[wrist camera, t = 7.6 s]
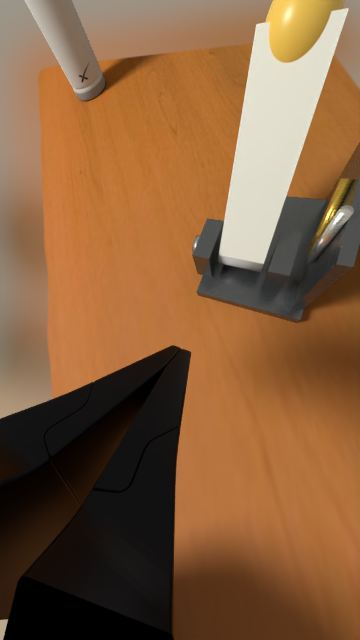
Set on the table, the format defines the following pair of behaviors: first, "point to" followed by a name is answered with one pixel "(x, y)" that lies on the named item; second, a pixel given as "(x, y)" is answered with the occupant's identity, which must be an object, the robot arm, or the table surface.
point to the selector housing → (289, 253)
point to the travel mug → (69, 45)
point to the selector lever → (276, 120)
